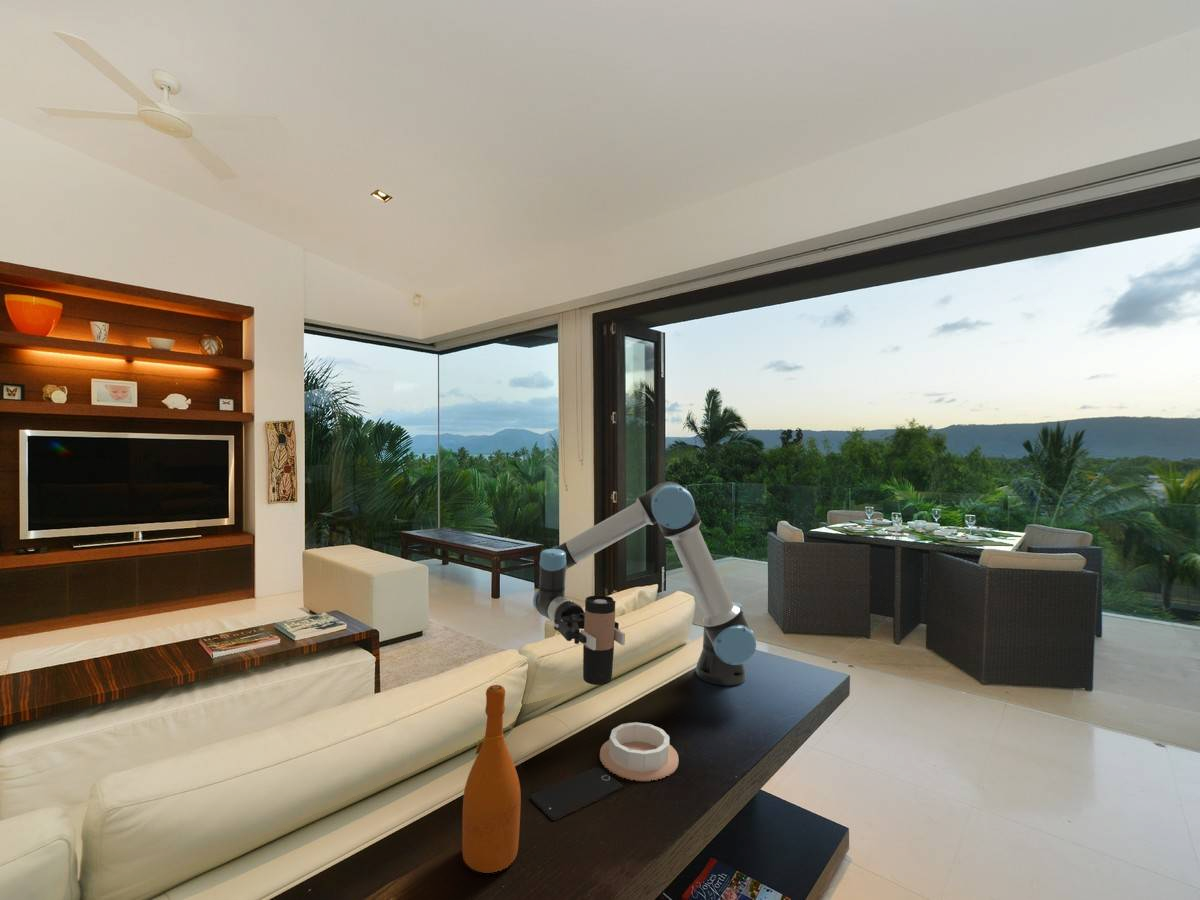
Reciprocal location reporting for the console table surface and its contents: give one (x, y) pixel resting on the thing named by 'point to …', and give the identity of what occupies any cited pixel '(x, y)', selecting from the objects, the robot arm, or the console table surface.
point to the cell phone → (587, 783)
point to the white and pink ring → (639, 752)
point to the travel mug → (599, 639)
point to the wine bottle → (491, 797)
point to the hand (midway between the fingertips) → (609, 641)
